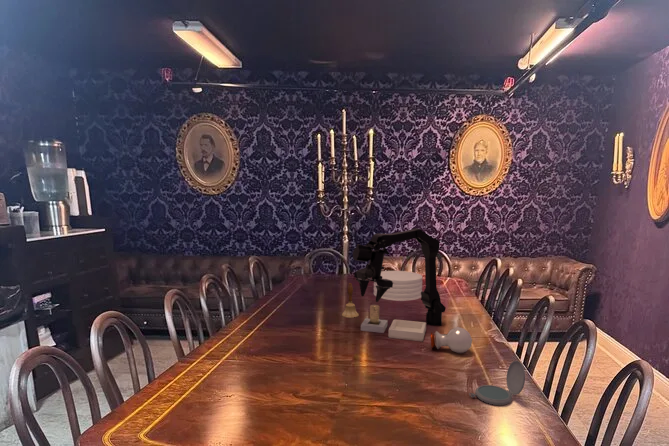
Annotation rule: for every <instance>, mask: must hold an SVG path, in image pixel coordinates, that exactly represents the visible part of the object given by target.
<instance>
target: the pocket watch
mask: <svg viewBox="0 0 669 446" xmlns="http://www.w3.org/2000/svg"><path fill="white" fill-rule="evenodd" d="M505 382H506V387H507V389H505V388H503V387H500V386H497V385H491V384H485V385H480V386H478V387H477V388H476V390H475V393H472V392H469V393H468V395H469V397H471V398H475V397H477V398H478V399H479V400H480V401H482V402H483V401H484V402H483V403H486V404H488V403H489V405H492V404H493V406H504V405H509V404H510V403H511V402H512V399H513V397H514V396H516V395H517V396H518V395H520V393H521V392H522V391H523V389H524V386H525V382H526V370H525V367H524V365H523V363H522V362H520V361H519V360H514V361H512V362H510V364H509V366H508V368H507V371H506V381H505Z"/></svg>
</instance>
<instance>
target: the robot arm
mask: <svg viewBox="0 0 669 446" xmlns="http://www.w3.org/2000/svg"><path fill="white" fill-rule="evenodd" d="M414 239H415V240H416V242H418V243H419V244H420V247H421V252H422V254H423V256H424V275H425V276H424V277H425V280H424V281H425V283H424V284H425V288H424V290H423V291H422V292H421V298H420V300H421V301H422V304H423V305H424V308H425V309H427V311H426V313H425V322H426V325H430V326H437V327H440V326H441V327H442V324H443V319H442V317H443V313H445V312H446V306H445V305H444V304H443V302H442V300H441V296H440V293H439V291H438V287H437V256H438V254H439V251H440V246H441V244H440V240H438V239H437V238H435V237H433V236H431V235H430V234H428V233H426V232H424V230H422V229H421V228H416V227H415V228H412V229H408V230H403V231H398V232H393V233H375V234H373V235H372V236H371V239H370V240H369V241H368V242H367V243H366V244H365V245H363V244H359V243H357V244H356V246H355V248H354V249H353V250H352V259H353V260H354V261H359V262H366V265H365V267H363V268H360V269H357V270H356V271H355V272H354V274H353V275H354V276H353V277H354V278H355V280H356V281H357V282H358V284H359V289H360V295H361V297H364V296H365V294H366V291H367V289H368V286H369V282H370V281H371V282H373V283H374V282H376V283H377V285H378V286H376V288H377V294H376V296H375V302H376V303H378V302H379V301H380V300H381V299H382V298H381V297H382V296H383V294H384V293H385V292H386V291H387V290H388V289H390V287H391V288H392V286H393V282H392V281H391V280H388V279H382V276H381V272H382V271H383V270H384V269H385V266H383V264H384V259H385V255H390V252H389V251H388V247H391V246H392V245H394V244H396V243H399V242H405V241H410V240H414ZM367 262H368V263H367Z"/></svg>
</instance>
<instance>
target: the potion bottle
mask: <svg viewBox="0 0 669 446" xmlns="http://www.w3.org/2000/svg"><path fill="white" fill-rule="evenodd" d="M429 336H430V346H431V348H432V349H434V348H436V349H437V350H439V349H440V348H441V347H448V348H449V349H450V350H451V351H452V352H454V353H457V354H463V353H466V352H468V350H470V349H471V347H472V342H473V338H472V336H471V334H470V332H469V331H468V330H467V329H465V328H463V327H460V326H456V327H453V328H451V329H450V330H449V331H448V332H447V334H446V333H443V334H442V333H440V332H439V331H437V330H435V332H434V333H433V332H432V331H431V332H430V335H429Z"/></svg>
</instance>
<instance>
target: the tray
mask: <svg viewBox="0 0 669 446" xmlns="http://www.w3.org/2000/svg"><path fill="white" fill-rule="evenodd" d="M426 331H427V322H426V321H417V320H416V321H413V320H405V319H404V320H403V319H393V320H392V322H391V325H390V326H389V328H388V338H389V339H397V340H406V341H416V342H423V341H424V339H425V334H426Z"/></svg>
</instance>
